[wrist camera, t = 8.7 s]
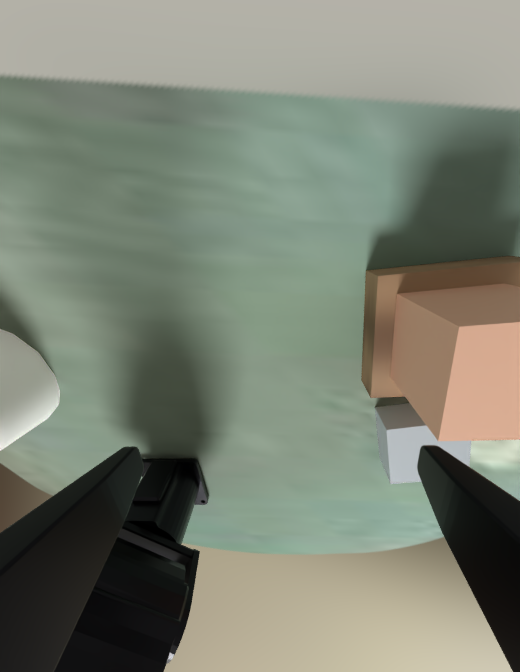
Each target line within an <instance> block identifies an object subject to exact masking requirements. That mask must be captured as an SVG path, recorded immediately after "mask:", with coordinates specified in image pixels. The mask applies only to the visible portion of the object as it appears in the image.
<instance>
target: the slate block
mask: <svg viewBox="0 0 520 672" xmlns="http://www.w3.org/2000/svg"><path fill="white" fill-rule="evenodd" d="M375 414H376V425H377V436H378V446H379V457H380V460H381V462H382V465H383V467H384V469H385V472H386V474H387V477H388V479H389V481H390V484H397V483H409V482H422V481H421V479H420V476H419V474H418V470H417V463H418V458H419V452H420V448H421V446H423V445H437V446H439V447H441V448H442V449H444V450H445V451H447V452H448V453H450V454H451V455H452V456H454V457H455V458H457V459H458V460H460V461H461V462H463V463H464V464H466V465H467V466H469V463H470V451H471V441H438V440H437V439H436V438H435V436H434V435H433V434H432V432H431V431H430V430H429V428H428V427H427V426H426V424H425V423H424V421H423V420H422V419H421V417H420V416H419V415H418V413H417V412H416V411H415V409H414V408H413V407H412V405H411V404H410V403H405V404H397V405H389V406H382V407H375Z"/></svg>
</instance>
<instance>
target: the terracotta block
mask: <svg viewBox="0 0 520 672" xmlns="http://www.w3.org/2000/svg"><path fill="white" fill-rule="evenodd" d="M390 377H391V378H392V380H393V381H394V382H395V384H396V385H397V386H398V388H399V389H400V391H401V392H402V393H403V395H404V396H405V397H406V399H407V400H408V401H409V403H410V404H411V405H412V407H413V408H414V409H415V411H416V412H417V413H418V415H419V416H420V417H421V419H422V420H423V421H424V423H425V424H426V426H427V427H428V428H429V430H430V431H431V432H432V434H433V435H434V436H435V438H436V439H437V440H438V441H475V440H517V439H520V287H518V286H513V285H509V284H504V283H503V284H493V285H482V286H472V287H462V288H451V289H441V290H430V291H420V292H410V293H399V294H397V299H396V311H395V323H394V336H393V348H392V361H391V373H390Z"/></svg>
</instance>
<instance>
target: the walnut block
mask: <svg viewBox="0 0 520 672" xmlns="http://www.w3.org/2000/svg"><path fill="white" fill-rule="evenodd" d="M503 283H504V284H509V285H513V286H518V287H520V257H515V256H502V257H492V258H483V259H473V260H463V261H453V262H443V263H434V264H424V265H414V266H404V267H395V268H385V269H375V270H366V281H365V306H364V330H363V355H362V379H361V380H362V382H363V384H364V386H365V388H366V390H367V392H368V393H369V395H370V397H371V398H379V397H405V396H404V395H403V393H402V392H401V391H400V389H399V388H398V386H397V385H396V384H395V382H394V381H393V380H392V378H391V377H390V373H391V361H392V348H393V336H394V323H395V311H396V299H397V294H399V293H410V292H420V291H430V290H441V289H451V288H462V287H472V286H482V285H493V284H503Z"/></svg>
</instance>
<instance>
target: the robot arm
mask: <svg viewBox="0 0 520 672" xmlns="http://www.w3.org/2000/svg"><path fill="white" fill-rule="evenodd" d="M417 470H418V474H419V476H420V479H421V481H422V484H423V486H424V489H425V491H426V494H427V496H428V499H429V501H430V504H431V506H432V509H433V511H434V514H435V516H436V519H437V521H438V524H439V526H440V528H441V531H442V533H443V535H444V537H445V539H446V541H447V543H448V545H449V547H450V549H451V551H452V553H453V555H454V557H455V559H456V560H457V563H458V565H459V567H460V569H461V571H462V572H463V574H464V576H465V578H466V580H467V582H468V584H469V586H470V588H471V590H472V592H473V594H474V596H475V598H476V600H477V602H478V604H479V606H480V608H481V610H482V612H483V614H484V616H485V618H486V620H487V622H488V623H489V625H490V627H491V629H492V631H493V633H494V635H495V637H496V639H497V641H498V643H499V645H500V647H501V649H502V651H503V653H504V654H505V657H506V659H507V661H508V663H509V665H510V667H511V669H512V670H513V672H520V501H519V500H518V499H516V498H515V497H513V496H512V495H510V494H509V493H507V492H506V491H504V490H503V489H501V488H500V487H498V486H497V485H495V484H494V483H492V482H491V481H489V480H488V479H486V478H485V477H484V476H482V475H481V474H479V473H478V472H476V471H475V470H473V469H472V468H470V467H469V466H467V465H466V464H464V463H463V462H461V461H460V460H458V459H457V458H455V457H454V456H452V455H451V454H450V453H448V452H447V451H445V450H444V449H442V448H441V447H439V446H437V445H423V446H421V448H420V452H419V458H418V463H417ZM141 476H142V477H143V478H142V479H141ZM140 479H141V481H140ZM139 482H140V483H139ZM138 484H139V485H138ZM207 503H208V495H207V492H206V488H205V485H204V481H203V478H202V474H201V471H200V468H199V464H198V461H197V460H195V459H145V460H142V458H141V455H140V452H139V449H138V448H137V447H123V448H122V449H120V450H119V451H117V452H116V453H115V454H113V455H112V456H110V457H109V458H107V459H106V460H104V461H103V462H102V463H100V464H99V465H97V466H96V467H94V468H93V469H92V470H90V471H89V472H87V473H86V474H84V475H83V476H81V477H80V478H79V479H77V480H76V481H74V482H73V483H71V484H70V485H68V486H67V487H66V488H64V489H63V490H61V491H60V492H58V493H57V494H56V495H54V496H53V497H51V498H50V499H48V500H47V501H45V502H44V503H43V504H41V505H40V506H38V507H37V508H35V509H34V510H32V511H31V512H30V513H28V514H27V515H25V516H24V517H22V518H21V519H20V520H18V521H17V522H15V523H14V524H12V525H11V526H9V527H8V528H7V529H5V530H4V531H2V532H1V533H0V672H163V671H164V669H165V666H166V664H167V663H169V662H170V661H171V660H172V658H173V656H174V655H175V653H176V650H177V648H178V646H179V643H180V641H181V639H182V636H183V633H184V630H185V627H186V624H187V620H188V617H189V612H190V608H191V603H192V596H193V590H194V584H195V578H196V571H197V565H198V558H199V552H200V551H198V550H196V549H193V550H192V549H190V548H188V547H186V546H183V545H181V544H182V541H183V538H184V535H185V532H186V529H187V526H188V523H189V520H190V516H191V513H192V510H193V507H194V505H205V504H207Z"/></svg>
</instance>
